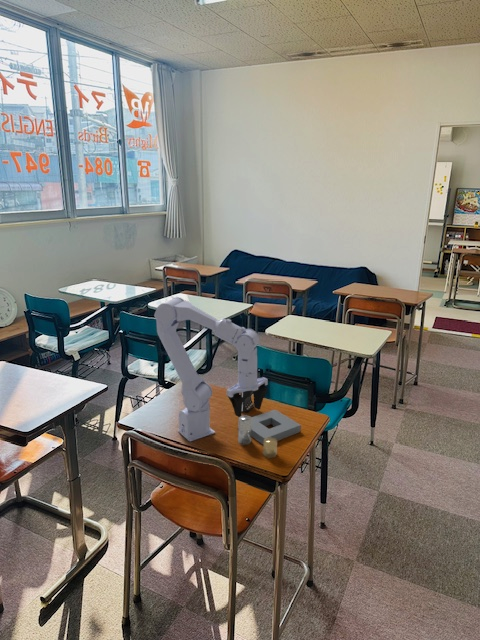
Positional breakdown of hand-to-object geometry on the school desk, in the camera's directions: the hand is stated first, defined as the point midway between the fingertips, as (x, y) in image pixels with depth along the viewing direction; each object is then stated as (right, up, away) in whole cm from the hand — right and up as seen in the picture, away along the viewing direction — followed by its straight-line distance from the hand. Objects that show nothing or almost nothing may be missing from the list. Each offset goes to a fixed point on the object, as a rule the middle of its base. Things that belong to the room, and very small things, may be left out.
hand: (247, 411), depth 135 cm
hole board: (+7, -8, +9) cm, 14 cm away
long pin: (-1, -10, +2) cm, 10 cm away
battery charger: (+1, -4, +24) cm, 24 cm away
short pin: (+6, -12, -4) cm, 14 cm away
